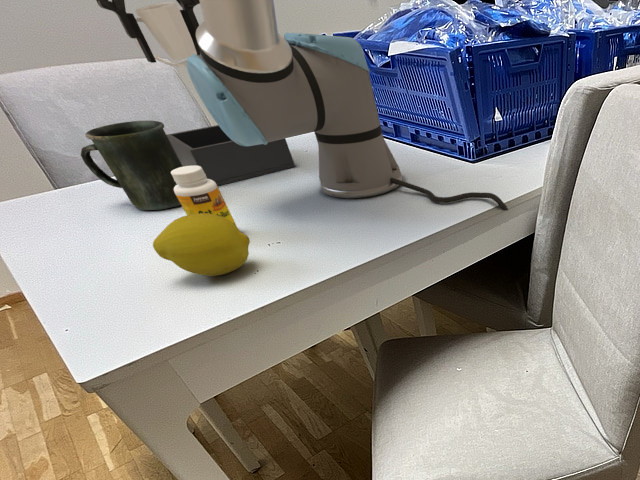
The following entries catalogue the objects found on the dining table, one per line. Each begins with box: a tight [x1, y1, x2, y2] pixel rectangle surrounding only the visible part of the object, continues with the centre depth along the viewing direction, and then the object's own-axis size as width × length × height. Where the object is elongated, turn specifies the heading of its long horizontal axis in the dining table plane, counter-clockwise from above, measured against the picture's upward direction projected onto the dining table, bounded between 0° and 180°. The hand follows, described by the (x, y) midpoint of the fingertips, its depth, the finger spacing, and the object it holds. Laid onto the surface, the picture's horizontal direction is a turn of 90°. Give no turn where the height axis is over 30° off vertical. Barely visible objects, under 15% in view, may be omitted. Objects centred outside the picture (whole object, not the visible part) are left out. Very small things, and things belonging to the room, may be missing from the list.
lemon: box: [152, 213, 251, 277], centre depth 60 cm, size 11×8×8 cm
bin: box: [166, 124, 296, 187], centre depth 94 cm, size 17×18×7 cm
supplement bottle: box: [171, 165, 237, 226], centre depth 67 cm, size 6×6×10 cm
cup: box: [133, 0, 197, 68], centre depth 79 cm, size 7×10×8 cm
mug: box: [80, 120, 183, 211], centre depth 79 cm, size 11×15×12 cm
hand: (177, 58), depth 81 cm, fingers closed on cup, 7 cm apart
